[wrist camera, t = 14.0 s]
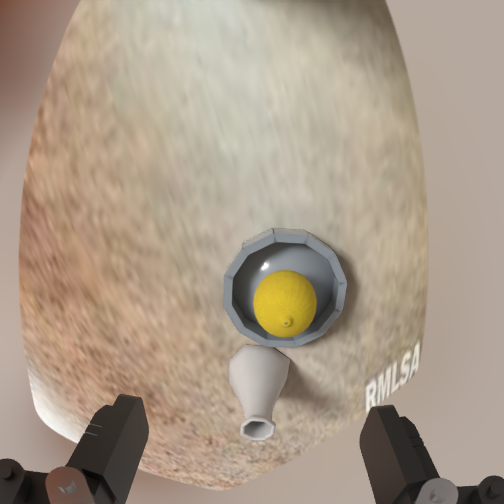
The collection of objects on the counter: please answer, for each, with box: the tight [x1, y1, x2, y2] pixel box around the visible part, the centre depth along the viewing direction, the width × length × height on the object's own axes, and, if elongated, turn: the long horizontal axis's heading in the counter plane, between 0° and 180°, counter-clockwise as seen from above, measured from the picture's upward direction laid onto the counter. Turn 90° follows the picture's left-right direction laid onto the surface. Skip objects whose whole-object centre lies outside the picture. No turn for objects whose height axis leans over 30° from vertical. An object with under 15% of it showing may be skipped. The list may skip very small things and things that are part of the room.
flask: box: [228, 345, 290, 441], centre depth 29 cm, size 7×7×10 cm
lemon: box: [253, 270, 317, 338], centre depth 27 cm, size 6×6×8 cm
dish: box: [223, 228, 347, 348], centre depth 30 cm, size 12×12×2 cm
